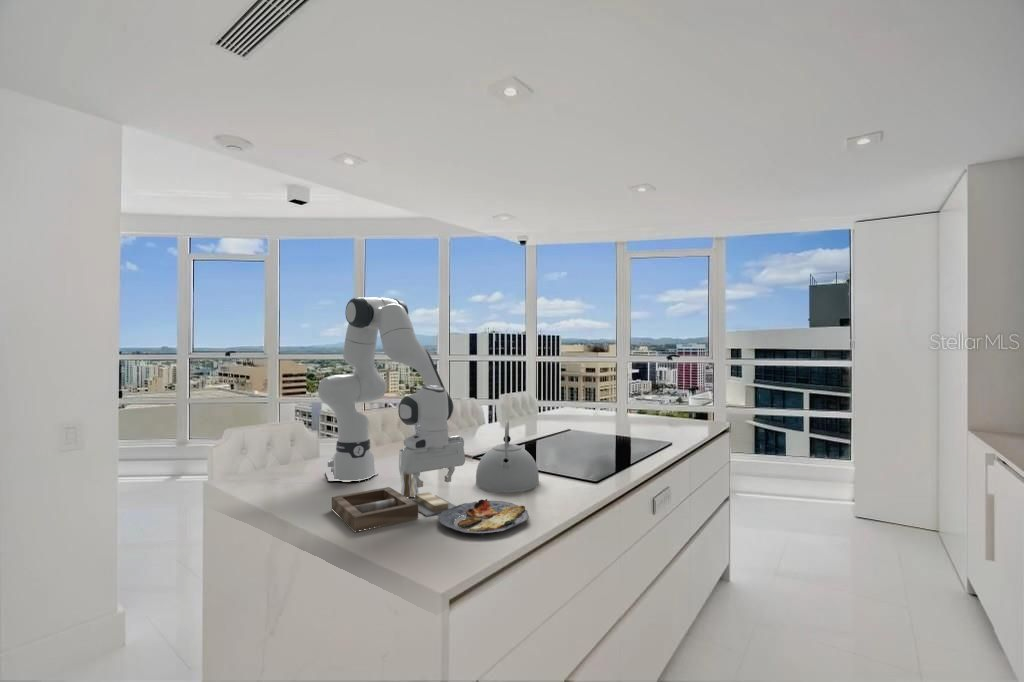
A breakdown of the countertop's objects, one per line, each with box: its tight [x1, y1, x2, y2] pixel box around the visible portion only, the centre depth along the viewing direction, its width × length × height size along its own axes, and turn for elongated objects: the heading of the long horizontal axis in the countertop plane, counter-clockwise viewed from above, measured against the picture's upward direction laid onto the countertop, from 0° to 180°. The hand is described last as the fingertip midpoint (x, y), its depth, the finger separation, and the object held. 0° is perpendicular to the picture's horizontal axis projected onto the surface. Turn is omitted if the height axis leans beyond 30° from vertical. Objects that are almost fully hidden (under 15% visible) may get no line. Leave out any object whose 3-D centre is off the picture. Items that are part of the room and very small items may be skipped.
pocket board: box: [331, 486, 419, 532], centre depth 145 cm, size 22×18×4 cm
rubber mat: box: [411, 494, 456, 518], centre depth 152 cm, size 16×11×1 cm
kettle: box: [475, 419, 540, 493], centre depth 176 cm, size 25×23×22 cm
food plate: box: [437, 498, 530, 535], centre depth 138 cm, size 25×23×4 cm
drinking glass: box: [398, 448, 420, 498], centre depth 163 cm, size 7×7×15 cm
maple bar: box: [414, 491, 448, 512], centre depth 152 cm, size 14×4×2 cm, turn 35°
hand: (434, 484), depth 150 cm, fingers open, 8 cm apart
